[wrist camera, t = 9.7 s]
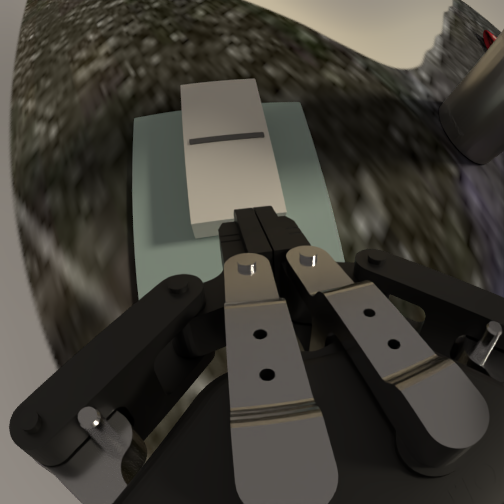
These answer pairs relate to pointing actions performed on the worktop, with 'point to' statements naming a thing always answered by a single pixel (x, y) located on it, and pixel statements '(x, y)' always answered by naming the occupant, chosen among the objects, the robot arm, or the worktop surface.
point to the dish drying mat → (488, 38)
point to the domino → (227, 153)
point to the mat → (177, 203)
